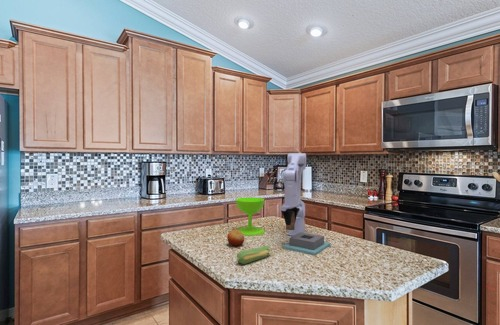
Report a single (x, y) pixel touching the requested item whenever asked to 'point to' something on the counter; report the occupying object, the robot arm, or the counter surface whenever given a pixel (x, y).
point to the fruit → (235, 238)
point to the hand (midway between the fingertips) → (290, 224)
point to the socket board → (313, 252)
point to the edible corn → (253, 254)
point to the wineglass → (250, 214)
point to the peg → (292, 225)
